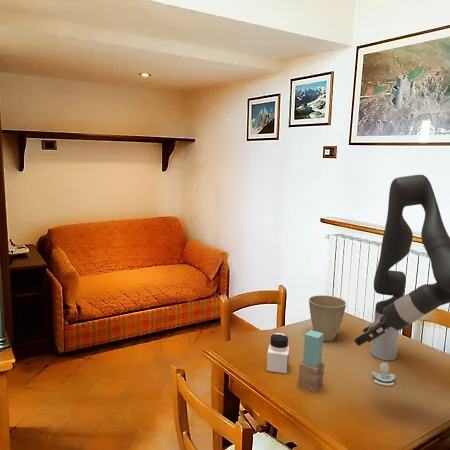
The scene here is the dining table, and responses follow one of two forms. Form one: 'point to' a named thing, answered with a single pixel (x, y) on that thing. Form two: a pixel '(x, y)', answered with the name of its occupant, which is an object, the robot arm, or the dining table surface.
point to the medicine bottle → (278, 353)
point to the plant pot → (326, 315)
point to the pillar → (313, 348)
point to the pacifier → (384, 376)
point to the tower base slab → (310, 383)
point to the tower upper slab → (311, 371)
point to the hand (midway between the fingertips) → (360, 337)
